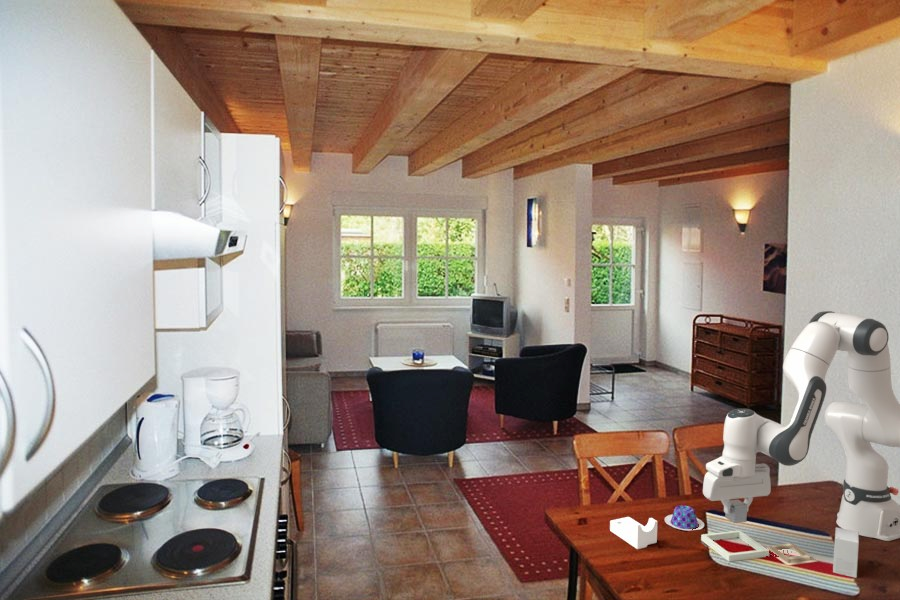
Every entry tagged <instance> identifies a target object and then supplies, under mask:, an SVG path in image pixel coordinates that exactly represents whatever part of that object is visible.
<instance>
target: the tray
mask: <svg viewBox="0 0 900 600" xmlns="http://www.w3.org/2000/svg"><path fill="white" fill-rule="evenodd" d="M700 536H701V537H700V541H701V542H700V543H701V544H702V545H703V546H705V547H706V548H707V547H708V549H709V548H710V549H712V550H713V551H714V552H715V553H717V554H718V555H719V556H721V557H722V558H723V559H724V560H726V561H727V562H728V563H727V564H728V565H730V564H731V563H730V562H736V561H744V560H752V559H760V558H767V557H766V556H768V557H770V553H769V550H768V549H766V548H767V547H765V546H763V545H762V544H761V543H760V542H758V541H756V540H755V539H753V538H752V537H750V536H749V535H747V534H746V533H744V532H743V531H741V530H740V529H738V530H737V529H736V530H730V531H721V532H720V531H719V532H712V533H711V532H710V533H705V534H704V533H703V534H701V535H700ZM737 537H739V538H737ZM728 538H731V539H740V540H741V539H742V540H741V541H743V542H744V541H745V542H744V543H746V544H747V545H748V544H749V545H748V546H750V547H752V549H754V550H748V551H746V550H745V551H738V552H731V553H730V552H729V551H728V550H726V549H725V548H724V547H722V546H721V545H719V544H718V543H717V542H716V541H720V539H722V540H728ZM713 540H714V541H713ZM724 560H723V561H724Z"/></svg>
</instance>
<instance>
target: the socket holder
mask: <svg viewBox="0 0 900 600" xmlns="http://www.w3.org/2000/svg"><path fill="white" fill-rule="evenodd" d="M767 548H768V549H769V550H770V551H771V552H773V553H774V554H776V555H777V556H779V557H775V555H774V556H773V557H775V558H776V559H778V560H779V561H781V562H782V563H783V564H785V565H786V566H793V565H800V564H801V565H802V564H809V563H810V564H811V563H815V562H816V563H818V560H817V559H816V558H814V555H813V556H812V555H811V554H810V553H808V552H806V551H805V550H803V549H802V548H800V547H798V546H797V545H795V544H794V543H792V542H791V543H783V544H775V545H769V546H767ZM790 548H791V549H793V550H795V551H796V552H798V553H799V554H800V556H790V555H784V554H785V553H784V550H783V553H781V552H780V551H778V550H782V549H790ZM796 552H795V553H796ZM787 553H788V550H787ZM791 553H792V551H791ZM788 554H789V553H788Z"/></svg>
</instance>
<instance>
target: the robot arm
mask: <svg viewBox="0 0 900 600" xmlns="http://www.w3.org/2000/svg"><path fill="white" fill-rule="evenodd" d="M888 343H889V332H888V329H887V328H886V325H885V324H883V323H882V322H881V321H879V320H877V319H873V318H867V317H864V316H860V315H858V314H853V313H842V312H835V311H831V310H829V311H825V310H824V311H819V312H817V313H816V314H814V315H813V317H812V318H811V319H810V320H809V322H808V324H807V325H805V327H804V328H803V329H802V330H801V331H800V333H799V334H798V336H797V337H796V339H795V340H794V342H793V343H792V345H791V346H790V349H789V350H788V352H787V354H786V356H785V357H784V360H783V364H782V370H783V373H784V375H785V377H786V379H787V381H788V382H790V383H791V385H792V386H793V387H794V388H795V389H796V391H797V394H798V399H797V403H796V405H795V408H794V411H793V413H792V416H791V420H790V422H789V423H788V424H787V425H784V424H780V423H779V422H776V421H774V420H771V419H769V418H766V417H763V416H761V415H760V414H757V413H756V412H755V411H754V410H752V409H750V408H735V409H732V410H730V411H729V412H728V413H727V415H726V416H725V419H724V425H723V434H722V436H723V437H722V440H723V444H724V445H723V450H722V453H721V454H722V455H721V456H719V457H717V458H716V459H713V460H711V461H708V462H707V463H706V464H705V470H707V472H706V473H705V474H704V478H703V485H702V494H703V495H704V497H705V498H706V499H708V500H709V501H711V502H716V501H720V502H721V504H722V505H723V513H725V514H726V513H727V514H728V513H732V507H730V506H729V505H728V503H729V501H730V500H739V499H744V500H743V501H742V502H743V503H745V504H746V505H747V513H748V512H749V507H750V505H751V504H752V502H753V499H754V498H757V497H768V496H769V495H770V493H772V492H771V491H772V489H771V488H772V487H771V485H772V484H771V476H770V475H771V474H770V471H771V469H770V466H769V465H768V464H766V463H763V462H762V463H756V460H757V453H762V454H763V455H766V456H768V457H770V458H772V459H773V460H775V461H776V462H778V463H780V464H781V465H784V466H788V467H791V466H792V467H793V466H795V465H798V464H799V463H801V462H803V460H805V459H806V457H807V456H808V453H809V449H810V442H811V438H812V435H813V432H814V428H815V426H816V424H817V421H818V418H819V416H820V412H821V410H822V407H823V404H824V401H825V397H826V394H827V383H826V381H825V380H826V376H827V372H828V371H829V368H830V366H831V365H832V361H833V360H834V357H835V355H836V353H837V351H840V352H847V361H846V362H847V363H846V364H847V366H846V367H847V385H848V388H849V389H848V390H849V391H850V392H851V393H852V394H853V395H854V396H856V397H857V398H859V399H860V401H862V402H863V403H858V402H852V401H833V402H832V403H830V404H829V405H828V406H827V407H826V409H825V411H824V415H823V416H824V417H823V419H824V424H825V426H826V427H827V429H828V430H829V431H830V432H832V434H833V435H834V436H835V437H836V439H838V441H839V443H840V446H841V447H842V449H843V453H844V456H845V457H844V458H845V479H844V480H843V483H842V492H843V494H842V496H841V502H840V506H839V511H838V512H837V514H836V517H837V518H836V524H837V525H838V527H839V528H842V529H847V530H851V531H856V532H859V536H862V537H865V538H866V537H867V538H874V539H878V540H882V541H886V542H890V541H893V540H897V539H900V504H899V503H897V502H896V500H894V499H893V498H892V496H891V494H892V495H894V496H897V495H898V494H899V489H898V488H896V487H895V488H894V487H893V486H889V487H888V477H889V476H888V475H889V464H888V462H887V460H886V458H884V456H883V455H881V454H880V453H879V452H878V451H876V450H875V449H874V447H873V446H872V444H871V443H873V444H878V445H882V446H885V447H891V448H900V402H899V400H898V399H897V398H896V396H895V394H894V390H893V384H892V372H891V354H890V349H889V344H888Z"/></svg>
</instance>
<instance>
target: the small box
mask: <svg viewBox="0 0 900 600" xmlns="http://www.w3.org/2000/svg"><path fill="white" fill-rule="evenodd" d="M833 545H834V547H833V563H832V573H835V574H838V575H842V576H847V577H852V578H856V579H857V577H858V564H859V563H858V562H859V548H860V547H859V545H860V535H859V532H856V531H851V530H847V529H843V528H841V527H835V534H834V544H833Z"/></svg>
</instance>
